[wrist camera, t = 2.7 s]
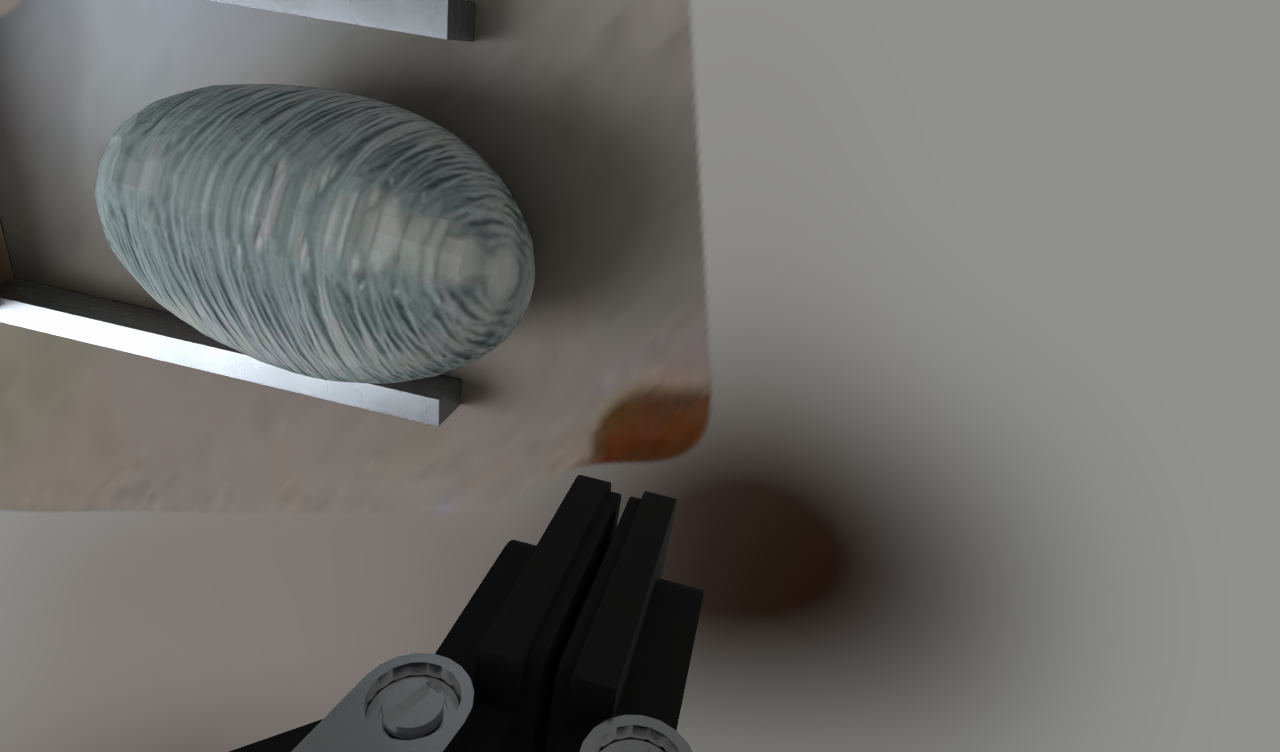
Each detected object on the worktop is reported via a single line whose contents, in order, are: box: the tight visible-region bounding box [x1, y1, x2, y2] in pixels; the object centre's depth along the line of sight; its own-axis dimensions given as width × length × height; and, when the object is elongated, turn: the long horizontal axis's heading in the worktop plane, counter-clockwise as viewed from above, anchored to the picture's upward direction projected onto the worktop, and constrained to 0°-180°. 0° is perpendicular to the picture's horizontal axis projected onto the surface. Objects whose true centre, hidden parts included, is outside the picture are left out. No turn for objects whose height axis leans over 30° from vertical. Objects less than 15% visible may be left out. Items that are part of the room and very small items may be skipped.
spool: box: [95, 84, 535, 384], centre depth 24 cm, size 14×10×10 cm
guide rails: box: [0, 0, 475, 426], centre depth 27 cm, size 15×22×2 cm
